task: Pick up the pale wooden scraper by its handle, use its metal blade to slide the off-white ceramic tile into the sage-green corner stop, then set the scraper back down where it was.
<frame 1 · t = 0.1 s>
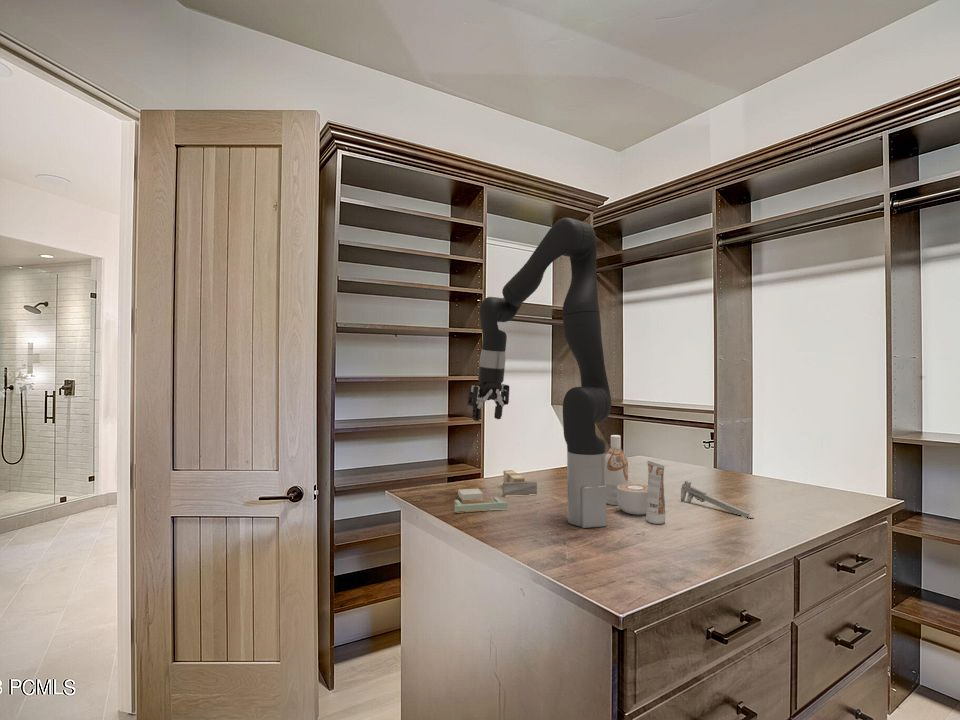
hand: (487, 419, 154), 22 cm above the countertop, tool pointing down, fingers open, 8 cm apart
caliper: (715, 511, 138), on the countertop
cosmetic set: (634, 512, 136), on the countertop
tile: (470, 500, 149), on the countertop
scraper: (514, 491, 159), on the countertop
tile stop: (476, 506, 142), on the countertop
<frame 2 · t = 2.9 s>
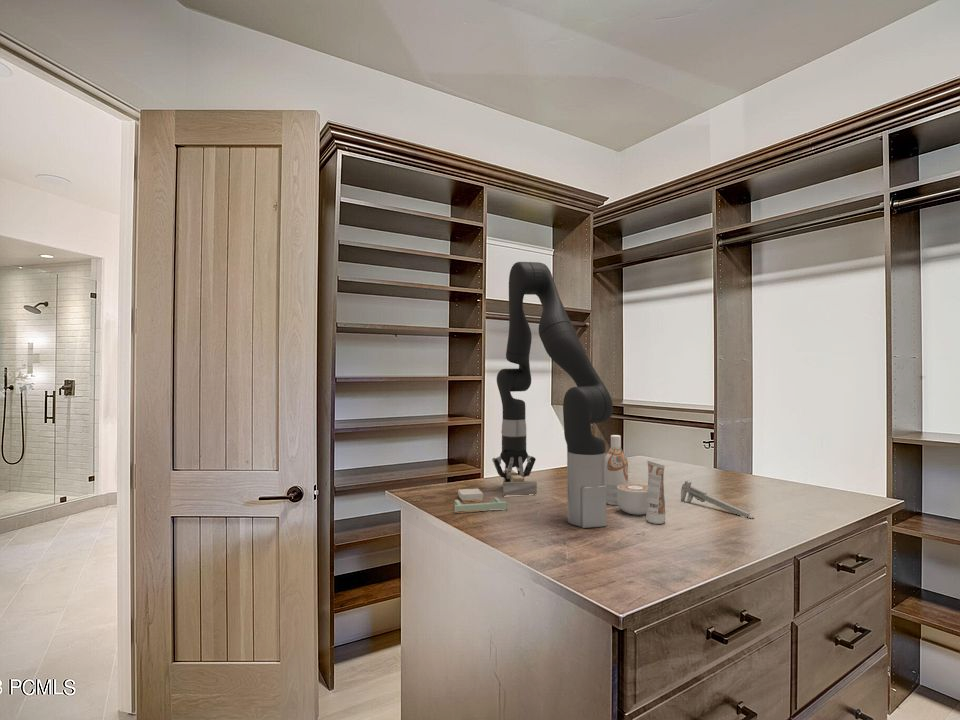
hand: (514, 490, 159), 0 cm above the countertop, tool pointing down, fingers closed on scraper, 3 cm apart
scraper: (514, 490, 159), on the countertop, touching gripper
everything else where it was.
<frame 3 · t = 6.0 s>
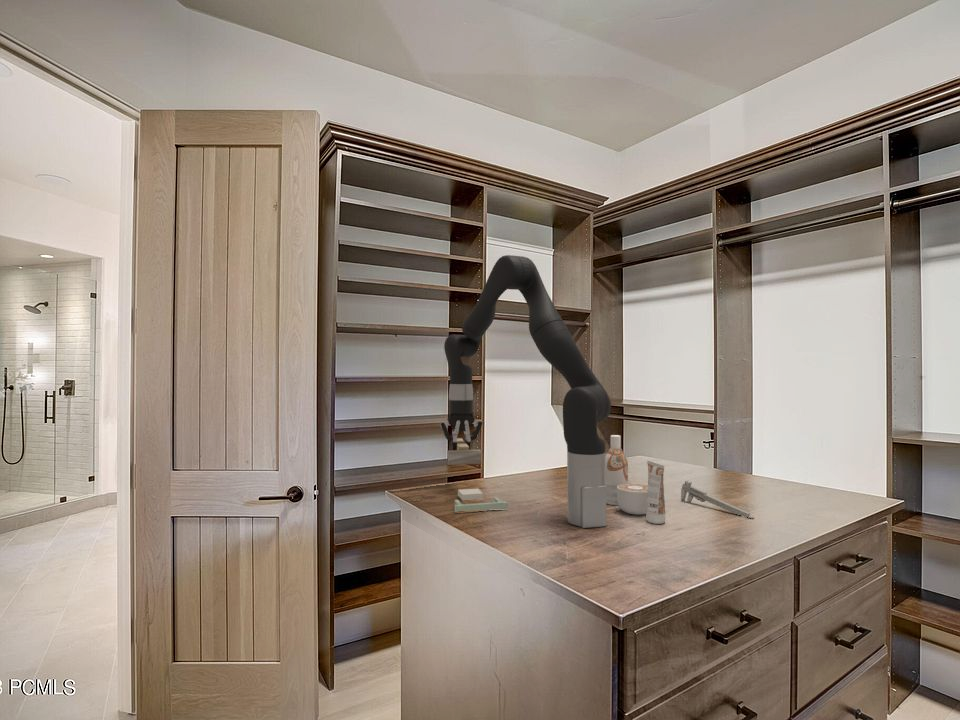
hand: (461, 453, 162), 11 cm above the countertop, tool pointing down, fingers closed on scraper, 3 cm apart
scraper: (460, 458, 163), point 9 cm above the countertop, touching gripper
everything else where it was.
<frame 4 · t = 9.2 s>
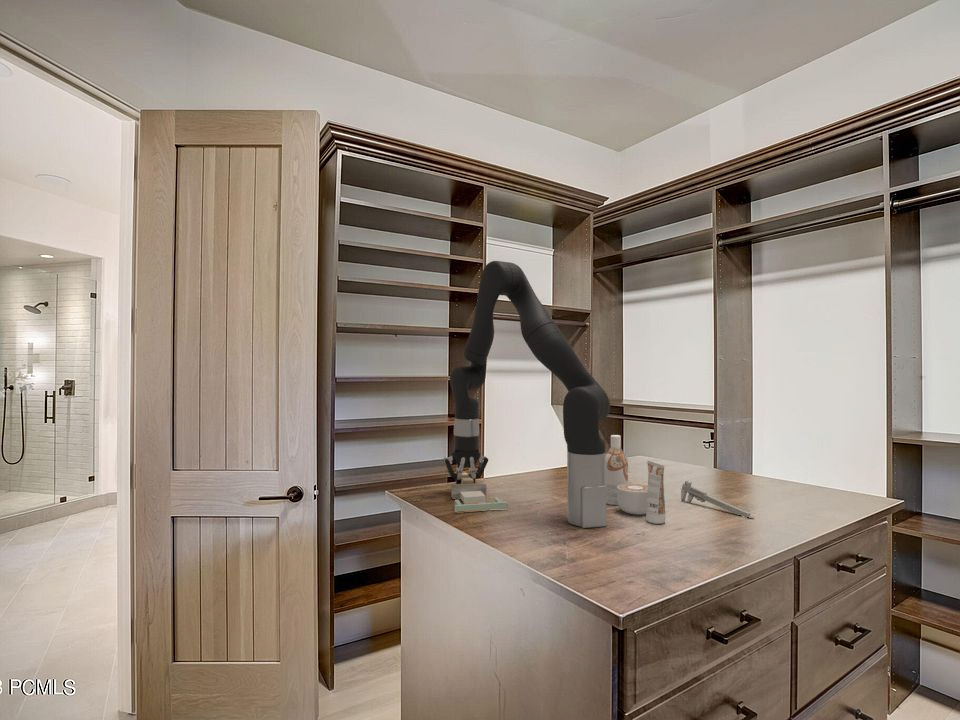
hand: (465, 490, 155), 1 cm above the countertop, tool pointing down, fingers closed on scraper, 3 cm apart
tile: (472, 502, 146), on the countertop
scraper: (464, 493, 155), on the countertop, touching gripper
everything else where it was.
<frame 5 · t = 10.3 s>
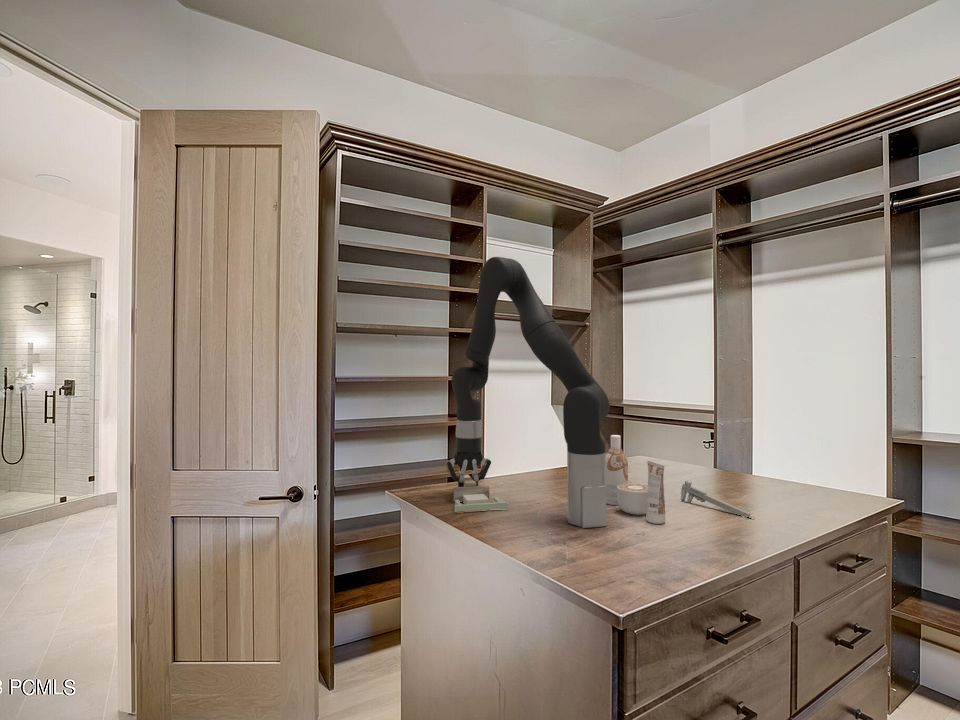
hand: (468, 494, 151), 1 cm above the countertop, tool pointing down, fingers closed on scraper, 3 cm apart
tile: (475, 506, 143), on the countertop
scraper: (467, 496, 152), on the countertop, touching gripper
everything else where it was.
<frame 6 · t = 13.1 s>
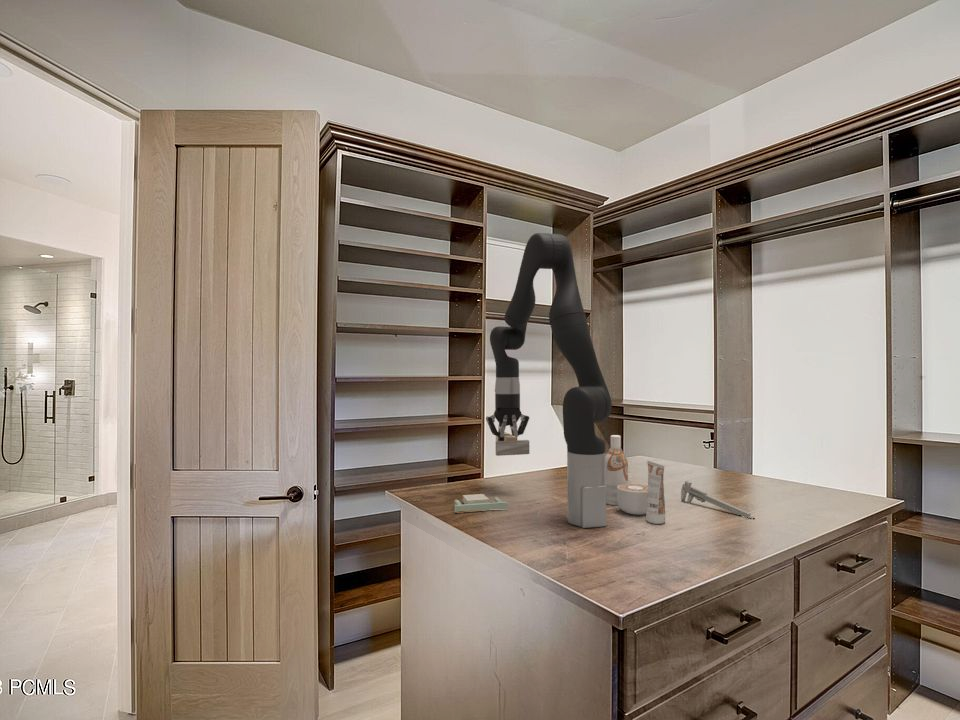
hand: (507, 448, 158), 13 cm above the countertop, tool pointing down, fingers closed on scraper, 3 cm apart
scraper: (506, 451, 159), point 12 cm above the countertop, touching gripper
everything else where it was.
when the fingers open (2 cm above the countertop, at t = 15.8 s): scraper stays where it is, on the countertop.
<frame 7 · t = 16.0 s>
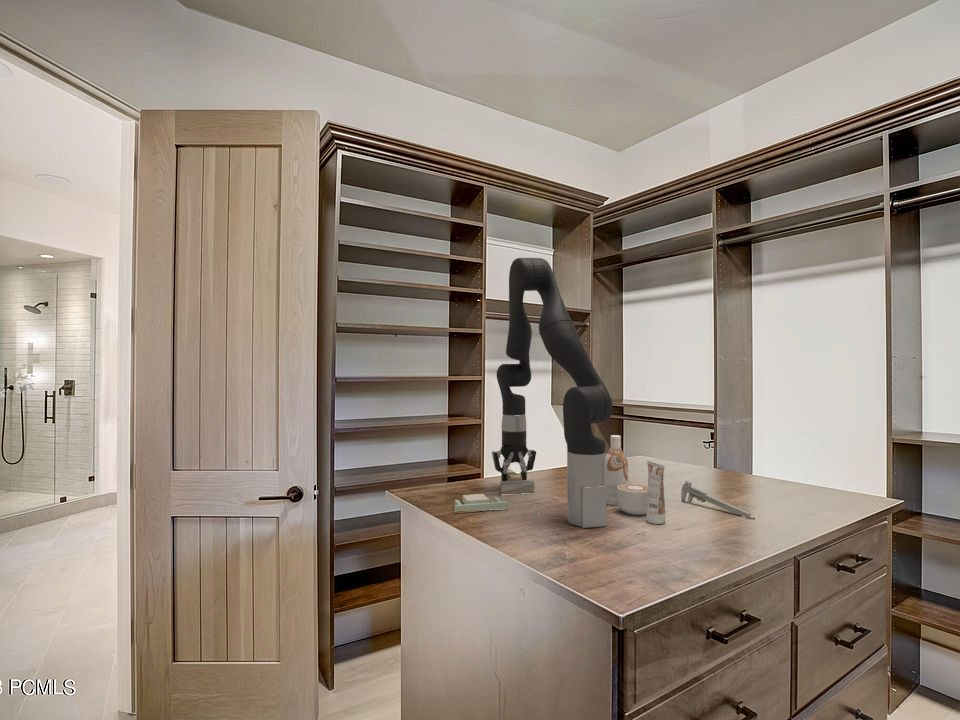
hand: (514, 484, 159), 2 cm above the countertop, tool pointing down, fingers open, 5 cm apart
scraper: (511, 489, 160), on the countertop
everything else where it was.
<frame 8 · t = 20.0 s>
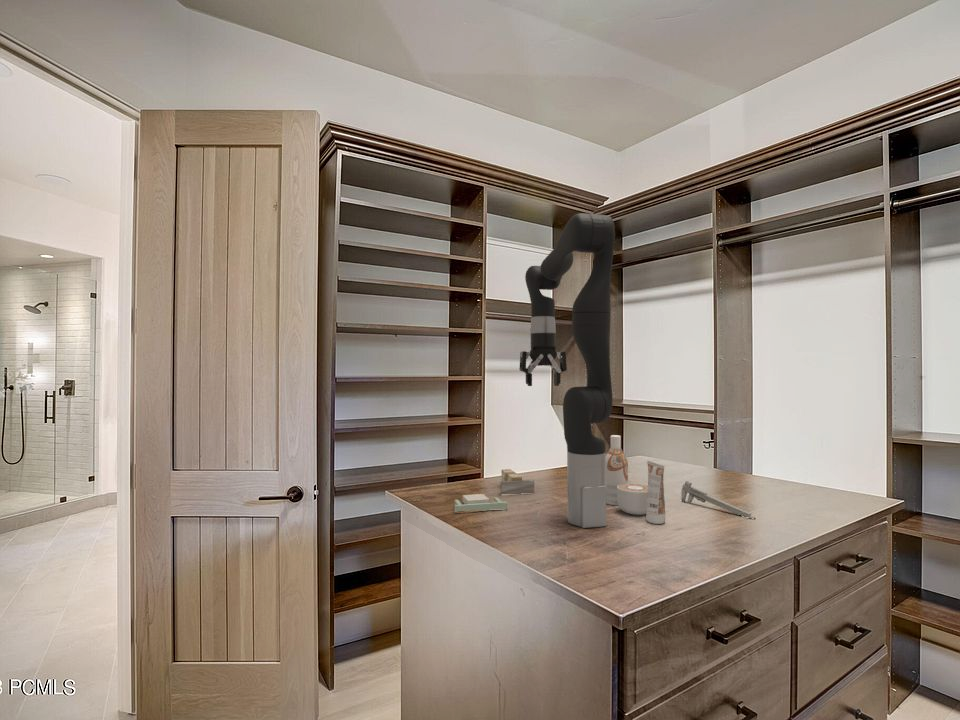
hand: (543, 385, 157), 32 cm above the countertop, tool pointing down, fingers open, 8 cm apart
nothing on the countertop moved.
at the end: tile 1.8 cm off-centre on the tile stop, point 0.0 cm above the tile stop's base; the gripper is holding nothing; scraper touching countertop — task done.
